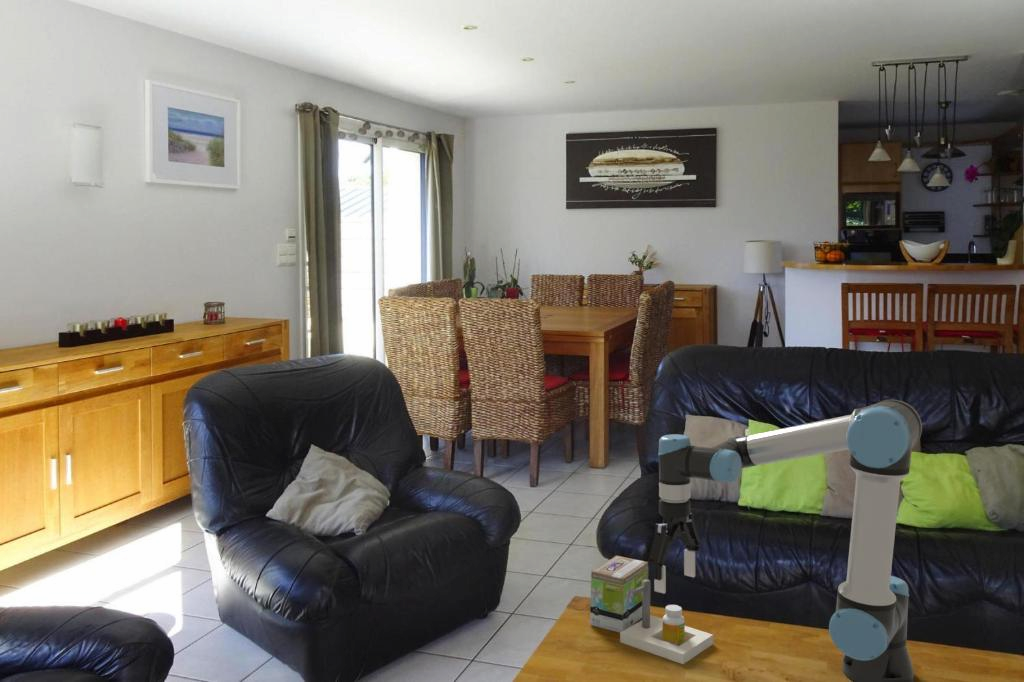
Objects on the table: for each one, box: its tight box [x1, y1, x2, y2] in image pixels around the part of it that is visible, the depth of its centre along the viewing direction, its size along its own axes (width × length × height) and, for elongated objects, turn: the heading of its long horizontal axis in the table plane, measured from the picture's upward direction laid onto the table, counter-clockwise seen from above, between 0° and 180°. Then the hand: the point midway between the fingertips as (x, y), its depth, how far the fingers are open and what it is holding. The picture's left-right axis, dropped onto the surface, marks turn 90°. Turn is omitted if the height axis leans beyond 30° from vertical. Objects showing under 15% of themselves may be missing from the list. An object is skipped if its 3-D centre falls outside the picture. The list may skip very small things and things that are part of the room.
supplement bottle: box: [662, 604, 686, 646], centre depth 217 cm, size 5×5×10 cm
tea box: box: [589, 555, 649, 633], centre depth 233 cm, size 15×10×15 cm, turn 147°
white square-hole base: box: [619, 579, 714, 665], centre depth 218 cm, size 18×14×14 cm
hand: (675, 583), depth 216 cm, fingers open, 13 cm apart
